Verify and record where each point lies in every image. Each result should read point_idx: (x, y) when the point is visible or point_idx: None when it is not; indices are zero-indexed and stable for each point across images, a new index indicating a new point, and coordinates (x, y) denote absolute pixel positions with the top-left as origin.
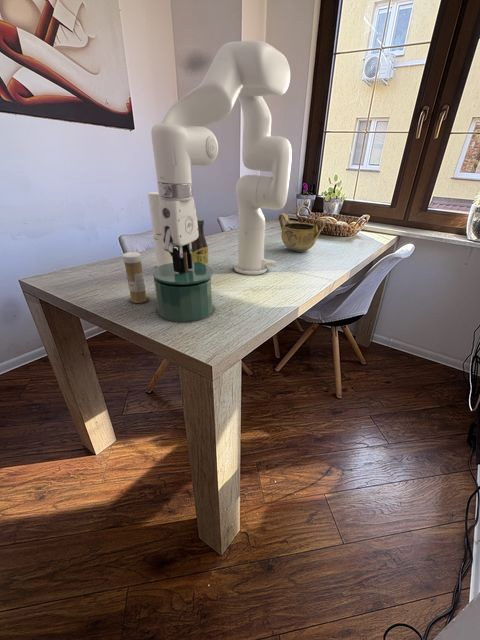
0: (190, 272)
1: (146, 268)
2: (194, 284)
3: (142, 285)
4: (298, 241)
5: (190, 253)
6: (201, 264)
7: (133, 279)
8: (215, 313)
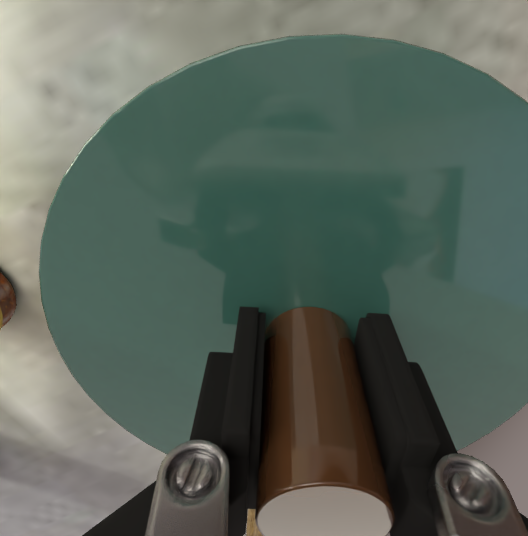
0: (313, 283)
1: (21, 484)
2: None
3: None
4: None
5: (227, 439)
6: (63, 283)
7: None
8: (290, 19)
